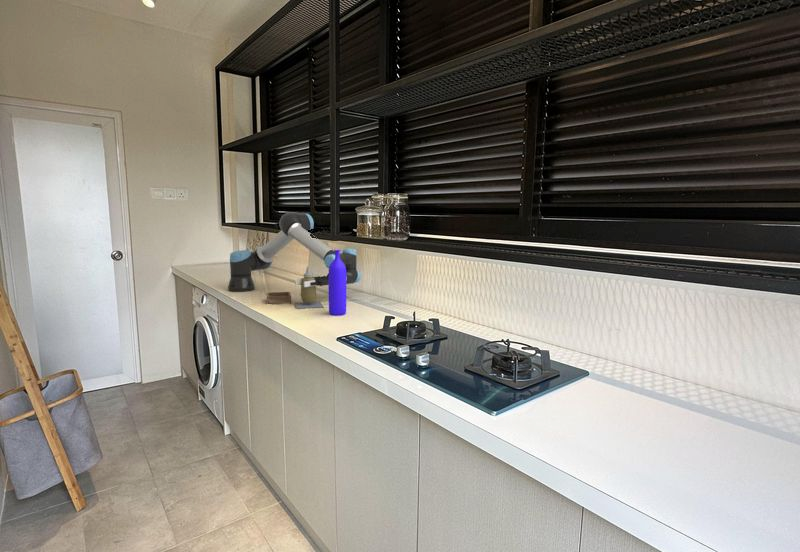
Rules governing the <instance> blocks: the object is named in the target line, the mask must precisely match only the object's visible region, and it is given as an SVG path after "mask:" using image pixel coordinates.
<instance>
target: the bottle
mask: <svg viewBox="0 0 800 552" xmlns="http://www.w3.org/2000/svg"><path fill="white" fill-rule="evenodd" d="M333 251H335V259H334V261H333V262H332V263H331V264H330V266H329V268H328V273H329V277H328V285H327V286H328V314H329V315H330V316H337V317H338V316H340V317H341V316H345V315H346V314H347V284H346V266H345V265H344V263H343V262H342V261H341V260H340V256H339V253H340V252H341V249H334V250H333Z"/></svg>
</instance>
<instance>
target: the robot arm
mask: <svg viewBox="0 0 800 552" xmlns="http://www.w3.org/2000/svg"><path fill="white" fill-rule="evenodd" d="M278 221H279V223H278V224H279V228H280V231H279V232H278V233H276V234H275V235H274V236H273V237H272V238H271V239H270V240H268V242H266V243H265V244H264V245H263V246H259V247H257V248H255V250H254V251H250V250H248V249H242V250H236V251H233V252H231V253H229V267H230V272H229V273H230V278H229V282H228V284H227V290H228V291H229V292H236V293H237V292H238V293H239V292H241V293H242V292H251V291H254V290H255V289H256V286H255V283H254V280H253V277H252V271H259V270H260V271H261V270H266V269H268V268H270V267H271V265H272V264H273V263H272V262H273V260H274V256H276V255H277V254H278V253H280V252H281V250H283V249H284V248H285V247H287V245H289V244H290V243H291V242H292V241H293V240H296V241H297V242H299V244H301V245H302V246H303V247H305V248H306V249H308V250H309V251H310V252H311V253H313V254H314V255H316V256H317V257H318V258H319V259H320V260H321V261H324V262H323V263H324V265H325V267H326V268H328V269H329V266H330V264H331V263H332V262H333V261H334V259H335V251H334V250H333V249H332V248H331V247H329V245H327V244H325V243H324V242H323V241H321V240H320V239H318V238H317V237H316V238H317V239H316V238H312V237H311V236H310V234H311V232H308V230H311V229H314V226H315V223H314V219H313V217H312V216H311V215H310V214H309V213H306V212H286V213H284V214H283V215H282V216H281V217H280V219H279V220H278ZM339 256H340V260H341V261H342V262H343V263H344V265H345V266H346V285H352V284H356V283H359V282H360V280H361V277H362V275H361V272H360V271H359V269H357V250H356V249H355V248H343V249H342V252H341V253H339ZM328 277H329V272H328V273H327V275H323V276H319V275H318V276H313V277H312V278H314V279H315V280H313V281H305V282H304V287H310V286H316V287H323V286H328ZM302 279H303V278H301V279H299V278H298V279H295V280H294V282H295V284H294V285H295V286H301V284H302Z"/></svg>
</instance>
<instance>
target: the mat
mask: <svg viewBox="0 0 800 552" xmlns="http://www.w3.org/2000/svg"><path fill="white" fill-rule="evenodd" d="M294 305H295V308H296V310H304V309H305V310H306V308H308V309H321V308H323V309H324V305H323V303H322V302H321V301H319V300H318V301H317V300H315V302H312V303H305V302H303V301H300V302H299V301H298V302H297V301H295V302H294Z"/></svg>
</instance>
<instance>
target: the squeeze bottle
mask: <svg viewBox="0 0 800 552" xmlns="http://www.w3.org/2000/svg"><path fill="white" fill-rule="evenodd" d="M312 277H314V274H313V273H312V272H311V267H310V266H306V271H305V273H303V278H301V279H302V284H301V285H300V286H301V287H300V298H301V300H302V301H301V302H305V303H312V302H315V301H316V298H317V286H310V287H304V282H305V281H313V280H315V279H314V278H312Z"/></svg>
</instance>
